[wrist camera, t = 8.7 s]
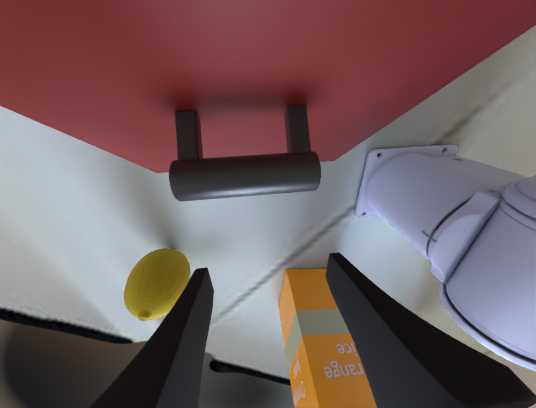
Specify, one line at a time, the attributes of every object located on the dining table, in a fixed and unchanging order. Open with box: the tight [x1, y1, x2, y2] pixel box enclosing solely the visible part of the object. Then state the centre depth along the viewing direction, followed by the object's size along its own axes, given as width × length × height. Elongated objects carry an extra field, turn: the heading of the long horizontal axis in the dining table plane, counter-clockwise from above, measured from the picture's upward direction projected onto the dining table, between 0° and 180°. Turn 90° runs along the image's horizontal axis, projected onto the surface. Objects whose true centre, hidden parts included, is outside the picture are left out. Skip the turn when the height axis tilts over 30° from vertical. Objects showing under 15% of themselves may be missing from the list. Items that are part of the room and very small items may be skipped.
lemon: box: [124, 248, 190, 321], centre depth 20 cm, size 6×6×8 cm
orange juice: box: [278, 268, 377, 408], centre depth 21 cm, size 8×9×20 cm
